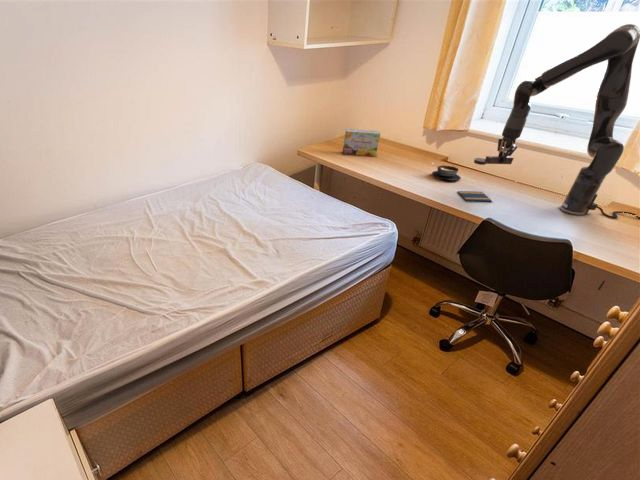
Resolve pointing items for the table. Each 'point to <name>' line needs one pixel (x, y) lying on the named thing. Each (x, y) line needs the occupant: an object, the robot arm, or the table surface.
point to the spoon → (492, 160)
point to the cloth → (474, 196)
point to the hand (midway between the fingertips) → (500, 162)
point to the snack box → (361, 142)
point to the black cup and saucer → (446, 173)
